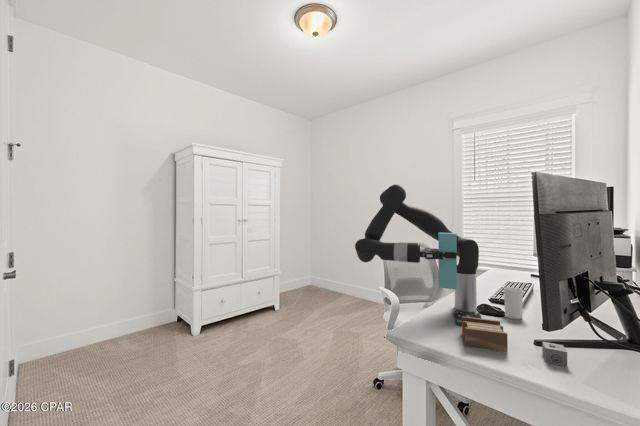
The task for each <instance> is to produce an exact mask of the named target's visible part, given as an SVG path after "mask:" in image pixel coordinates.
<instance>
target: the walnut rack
mask: <svg viewBox="0 0 640 426" xmlns="http://www.w3.org/2000/svg"><path fill="white" fill-rule="evenodd" d="M481 318H482V317H481ZM481 318H472V317H463V316H462V326H461V334H462V339H463V342H464V347H465V348H466V347H467V348H473V349H479V350H484V351H491V352H492V351H493V352H500V353H507V354H508V353H509V352H508V351H509V350H508V332H505V331H504V326H503V325H501V321H500V320H499V319H497V320H496V319H488V318H487V319H486V318H482V319H481ZM467 323H473V324H481V325H490V326H498V327H500V328H501V329H502V331H503V332H498V331H490V330H483V329H475V328H467Z"/></svg>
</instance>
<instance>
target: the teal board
mask: <svg viewBox="0 0 640 426" xmlns="http://www.w3.org/2000/svg"><path fill="white" fill-rule="evenodd" d="M457 236H458V234H457V233H456V232H452V233H439V241H438V249H439V251H444V252H456V253H457ZM439 257H440V254H439ZM457 260H458V259H457V258H456V259H452V258H445V259H438V288H439V289H450V290H455V289H457V265H458V262H457Z"/></svg>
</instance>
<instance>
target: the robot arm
mask: <svg viewBox="0 0 640 426" xmlns="http://www.w3.org/2000/svg"><path fill="white" fill-rule="evenodd" d="M405 199H407V191H406V189H405V188H404V187H403V186H402V185H400V184H398V183H397V184H393V185H390V186H389V187H388V188H386V189H385V190H384V191H383V192H381V194H380V195H379V202H380V203H381V205H382V206H381V207H380V209H379V211H377V213H376V214H375V216H373V218H372V220H371V221H370V223H369V224H368V226H367V228H366V230H365V233H364V238H361V239H358V240H357V241H356V242H355V244H354V249H355V252H356V254H357V257H358V259H359V260H360V261H361V262H362V263H369V262H371V261H373V259H374V258H375V257H376V256H378V257H379V258H380V260H382V261H391V262H399V263H415V264H419V263H420V262H421V258H424V260H439V259H445V258H452V259H456V258H457V257H458V262H457V289H454V309H455V310H456V311H460V312H472V313H476V312H477V310H476V309H478V308H477V307H478V306H477V305H478V303H477V301H478V299H477V297H478V296H477V294H478V293H477V270H478V268H479V257H480V252H479V251H480V249H479V244H478V243H477V241H475V240H474V239H471V238H464V237H461V236H459V235H457V253H456V252H444V251H439V248H431V247H425V248H424V249H422V248H421V244H420V243H419V242H383V241H381V239H382V238H383V235H384V233H385V231H386V229H387V227H388V225H389V224H390V222H391V220H392V218H393V217H394V215H395V214H397V215H398V216H399V217H401V218H403V219H404V220H406V221H407V222H409V223H411V224H412V225H413V226H415V227H417V228H418V229H419V230H420V231H422V232H423V233H424V234H426V235H427V236H429V237H431V238H432V239H434V240H435V241H438V242H439V233H453V231H451V230H450V229H449V228H448V227H447V226H446V225H445V222H443V221H442V219H440V218H439V217H438V216H437V215H435V214H434V213H433V212H430V211H429V210H426V209H423V208H418V207H415V206H412V205H409V204H407V203H405ZM439 254H440V257H439Z"/></svg>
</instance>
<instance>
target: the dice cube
mask: <svg viewBox="0 0 640 426" xmlns="http://www.w3.org/2000/svg"><path fill="white" fill-rule="evenodd" d="M541 343H542V344H541V347H542V349H541V350H542V351H541V353H542V354H541V355H542V357H543V359H544V362H545V363H547V364H548V363H549V364H553V365H557V366H562V367H563V366H564V367H568V351H567V349H566V347H565V346H564V344H558V343H552V342H547V341H542V342H541Z"/></svg>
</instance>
